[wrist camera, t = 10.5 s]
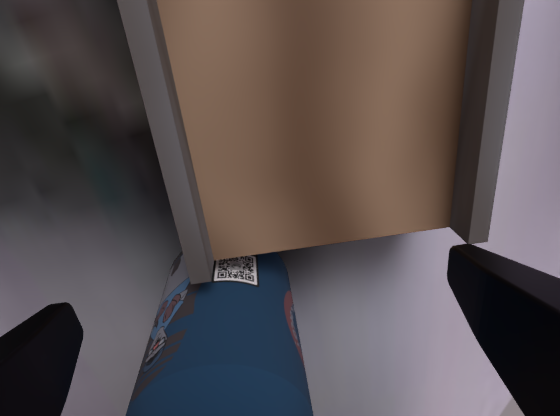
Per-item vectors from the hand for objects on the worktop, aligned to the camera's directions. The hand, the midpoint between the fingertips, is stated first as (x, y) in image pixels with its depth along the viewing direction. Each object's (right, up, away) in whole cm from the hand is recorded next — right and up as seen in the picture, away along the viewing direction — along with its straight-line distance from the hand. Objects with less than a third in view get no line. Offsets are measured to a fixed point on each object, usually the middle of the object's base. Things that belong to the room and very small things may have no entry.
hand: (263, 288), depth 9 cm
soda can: (-3, -2, +14) cm, 15 cm away
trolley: (+1, +10, +9) cm, 13 cm away
